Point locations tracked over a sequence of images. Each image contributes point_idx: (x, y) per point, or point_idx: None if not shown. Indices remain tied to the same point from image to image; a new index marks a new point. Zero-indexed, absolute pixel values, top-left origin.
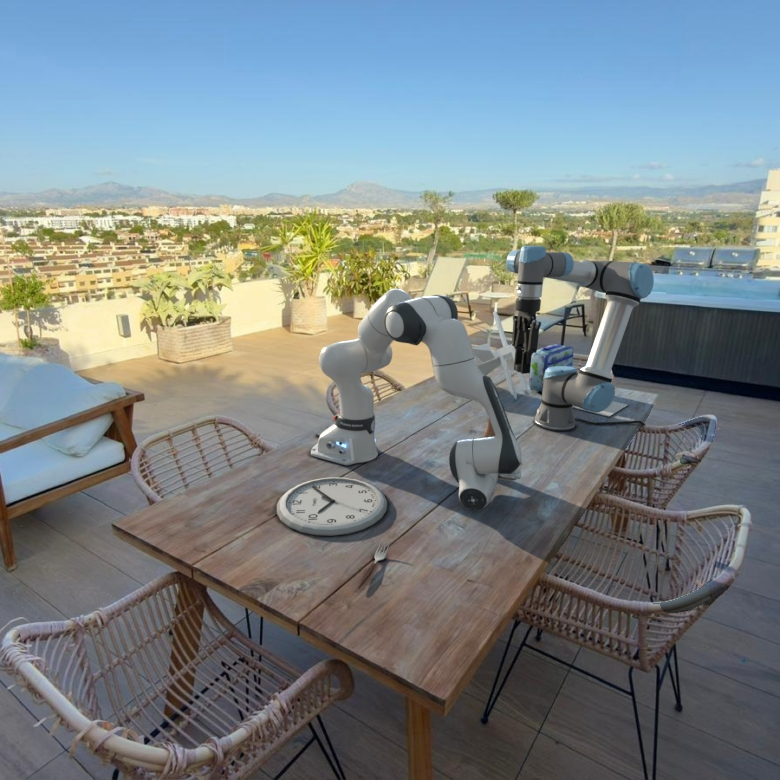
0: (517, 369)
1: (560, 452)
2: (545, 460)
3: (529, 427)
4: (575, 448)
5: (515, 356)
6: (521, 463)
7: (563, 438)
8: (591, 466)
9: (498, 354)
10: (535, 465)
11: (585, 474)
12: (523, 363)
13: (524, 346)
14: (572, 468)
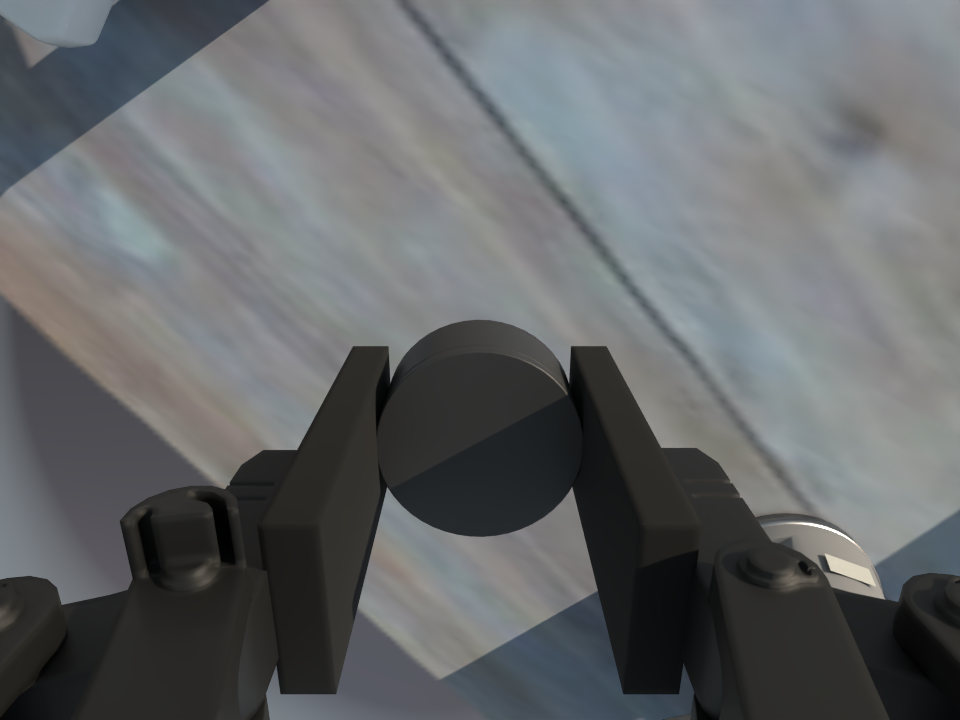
0: (444, 334)
1: None
2: (391, 339)
3: (781, 467)
4: None
5: (635, 443)
6: (23, 31)
7: None
8: None
9: None
10: (347, 263)
11: (228, 428)
12: (317, 423)
13: (216, 683)
14: (291, 409)
